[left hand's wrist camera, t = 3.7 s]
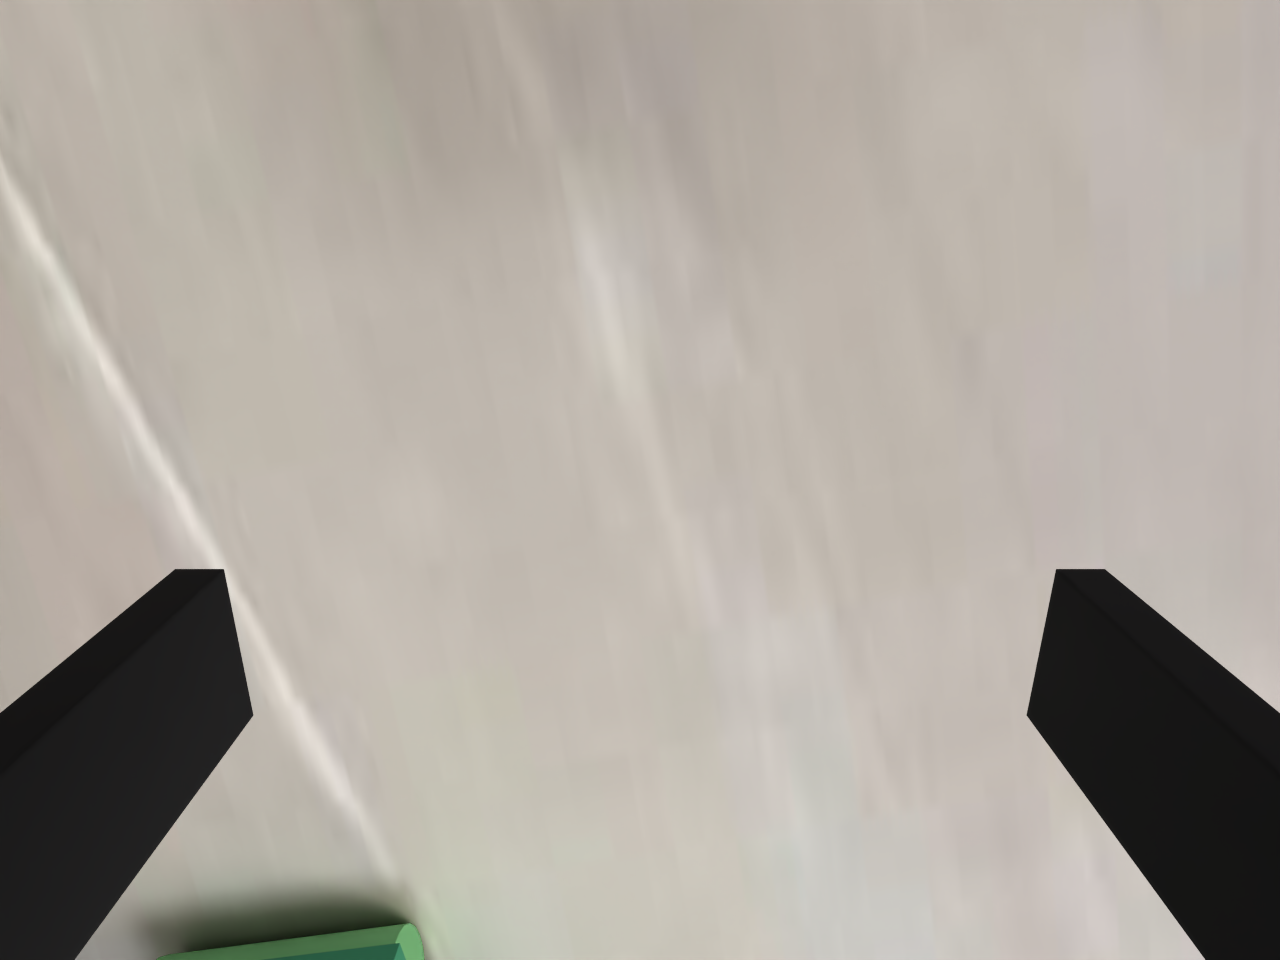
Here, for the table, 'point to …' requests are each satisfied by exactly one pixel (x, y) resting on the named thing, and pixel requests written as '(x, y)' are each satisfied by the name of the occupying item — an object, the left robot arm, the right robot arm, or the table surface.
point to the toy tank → (324, 947)
